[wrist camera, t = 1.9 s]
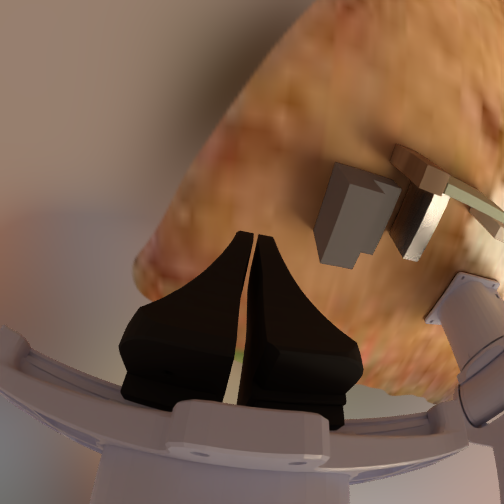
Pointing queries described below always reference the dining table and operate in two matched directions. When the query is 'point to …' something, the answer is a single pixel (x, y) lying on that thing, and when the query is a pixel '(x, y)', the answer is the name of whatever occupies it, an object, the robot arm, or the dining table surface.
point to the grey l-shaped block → (433, 214)
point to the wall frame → (437, 183)
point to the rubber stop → (353, 215)
